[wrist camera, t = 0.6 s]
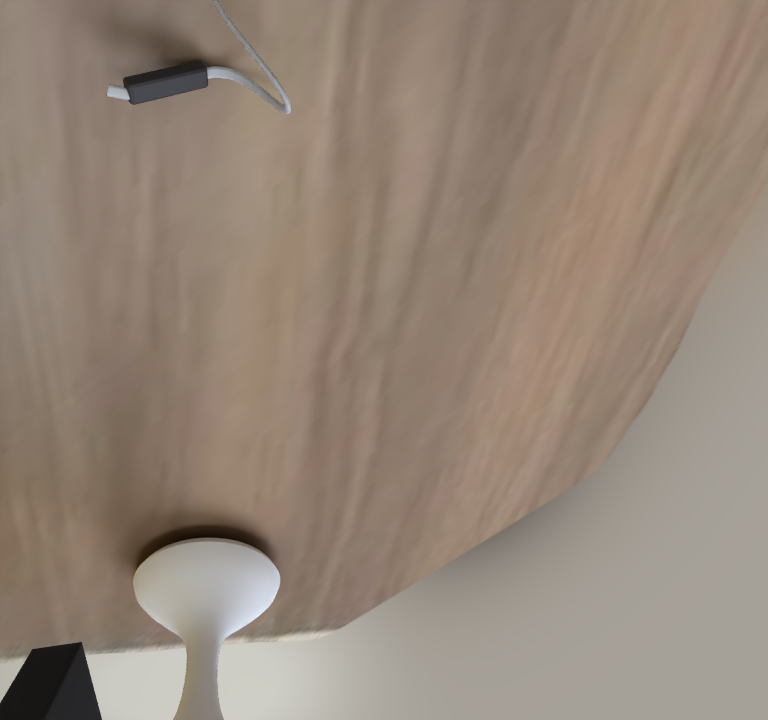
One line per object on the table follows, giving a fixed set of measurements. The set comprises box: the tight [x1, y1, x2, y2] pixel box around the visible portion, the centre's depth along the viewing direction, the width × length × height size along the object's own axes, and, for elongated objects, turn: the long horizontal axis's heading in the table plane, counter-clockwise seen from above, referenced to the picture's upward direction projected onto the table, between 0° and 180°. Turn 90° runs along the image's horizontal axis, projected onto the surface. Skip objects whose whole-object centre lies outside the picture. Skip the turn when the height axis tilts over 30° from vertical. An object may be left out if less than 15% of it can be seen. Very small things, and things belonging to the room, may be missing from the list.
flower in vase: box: [133, 538, 280, 720], centre depth 50 cm, size 13×11×25 cm
